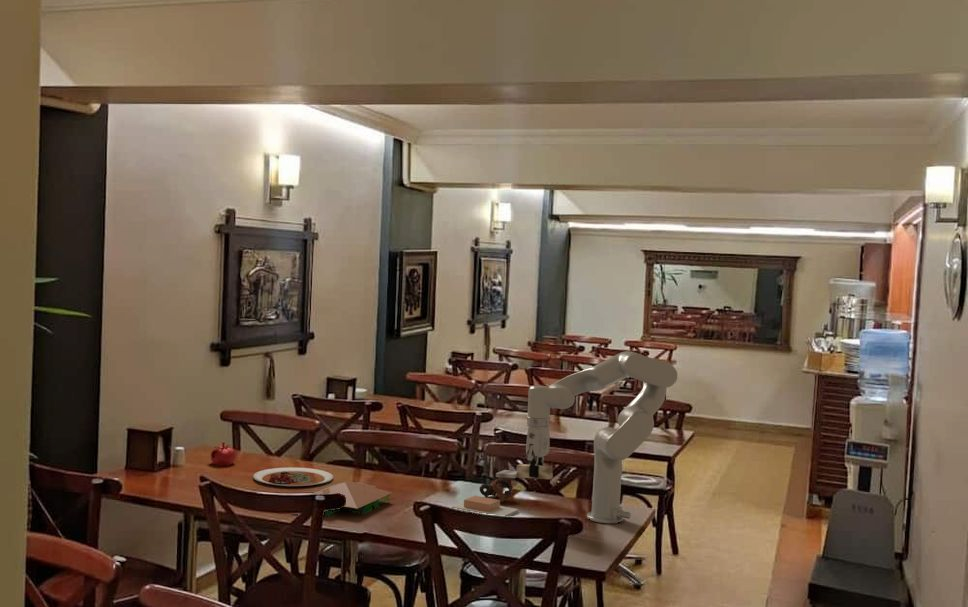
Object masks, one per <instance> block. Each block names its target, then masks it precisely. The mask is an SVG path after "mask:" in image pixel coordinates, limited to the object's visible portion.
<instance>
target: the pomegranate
mask: <svg viewBox="0 0 968 607" xmlns="http://www.w3.org/2000/svg"><path fill="white" fill-rule="evenodd" d="M221 444H222V445H220V444H218V445H217V446H215V447H214V449H213V450H212V451H211V453H210V460H211V462H212V464H213V465H214V466H218V467H228V466H231V465H233V464H234V463H235V461H236V458H237V453H236V450H235V449H234V448H233V446H232V445H231V444H228V445H226V442H225V441H223V442H222V443H221Z"/></svg>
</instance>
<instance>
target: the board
mask: <svg viewBox="0 0 968 607" xmlns="http://www.w3.org/2000/svg"><path fill="white" fill-rule="evenodd" d="M452 508H457V509H462V510H467V511H474V512H479V513H486V514H496V515H505V516H509V517H510V515H511V516H513V515H515V514H517V513H519V508H513V507H508V506H502V505H500V507H499V508H497V509H494V510H492V511H490V512H487V511H482V510H477V509H472V508H466V507H464V501H462V502H460V503H457V504H455V505H452V506H451V509H452Z"/></svg>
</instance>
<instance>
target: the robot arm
mask: <svg viewBox="0 0 968 607" xmlns="http://www.w3.org/2000/svg"><path fill="white" fill-rule="evenodd" d="M627 378H631V379H635V380H637V381H640V382H643V385H642V388H641V390H640V392H639V393H638V394H637V395H636V396H635V397H634V399H633V400H631V401H630V403H628V404H627V405H626V406H625V407H624V408H623V409H622V410H621V411H620V413H619V414H618V416H617V424H618V426H619V427H618V428H617V429H616V428H614V427H611V426H608V427H607V426H606V427H602V428H601V429H599V430H598V431H597V432H596V434H595V436H594V438H593V455H594V463H593V464H594V465H593V482H592V484H593V485H592V500H591V511H589V512H587V513H586V518H587V519H588V520H589V519H590V520H589V521H592V522H595V523H601V524H619V523H618V522H620V523H622V522H623V521H624V519H627V520H631V517H632V515H631V512H630V511H625V510H623V506H620V505H621V492H622V490H621V489H622V488H621V487H622V474H623V460H626V459H627V458H629V457H630V456H631V455H632V454H634V452H636V450H637V449H639V447H640V446H641V445H642V444H643V443H644V442H645V441H646V440H647V439H648V438H649V437H650V436H651V434H652V432H653V430H654V427H655V421H654V417H653V416H654V415H655V414H656V413H657V411H659V409H660V408H661V407H662V405H663V404H664V402H665V399H666V395H667V388H670V387H672V386H674V384H675V383H676V382H677V380H678V372H677V368H676V367H674V365H672V364H671V363H668V362H665V361H661V360H660V359H659V360H658V359H655V358H652V357H649V356H646V355H642V354H640V353H638V352H634V351H630V350H626V351H621V352H620V353H617V354H615V355H614V356H611V357H609V358H607V359H605V360H603V361H602V362H600V363H598V364H595V365H592V366H591V367H589V368H586V369H583V370H580V371H578V372H575V373H573V374H570V375H567V376H566V377H563V378H561V379H559V380H557V381H555V382H553V383H552V384H550V385H549V386H547V385H538V384H537V385H531V386H530V387H529V388H528V392H527V393H528V396H527V398H528V399H527V417H526V419H527V422H526V426H527V427H528V428H527V432H526V434H527V435H526V443H525V444H526V445H525V453H526V454H525V455H526V456H527V458H526V459H527V461H528V465H530V466H529V476H530V477H535V478H534V479H536V478H537V477H538V473H539V466H538V465H544V463H545V456H547V455H549V453H550V443H551V442H550V438H551V436H550V418H551V417H550V415H551V408H553V409H560V410H566V409H569V408H571V407H572V406H573V405H574V403H575V400H576V397H575V396H578V395H580V394H583V393H587V392H597V391H601V390H604V389H606V388H609V387H611V386H613V385H615V384H616V383H617V384H618V383H619V382H621V381H623V380H625V379H627ZM621 521H622V522H621Z"/></svg>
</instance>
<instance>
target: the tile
mask: <svg viewBox="0 0 968 607" xmlns="http://www.w3.org/2000/svg"><path fill="white" fill-rule="evenodd" d="M463 502H464V507H466V508H472V509H477V510H482V511H487V512H490V511H492V510H494V509H497V508H499V507H500V506H501V502H500V500H499V499H497V498H491V497H488V498H485V496H478V495H473V496H471V497H468V498H466V499H463Z"/></svg>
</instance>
